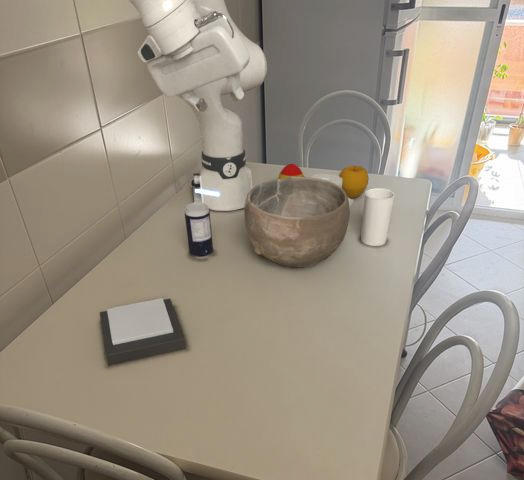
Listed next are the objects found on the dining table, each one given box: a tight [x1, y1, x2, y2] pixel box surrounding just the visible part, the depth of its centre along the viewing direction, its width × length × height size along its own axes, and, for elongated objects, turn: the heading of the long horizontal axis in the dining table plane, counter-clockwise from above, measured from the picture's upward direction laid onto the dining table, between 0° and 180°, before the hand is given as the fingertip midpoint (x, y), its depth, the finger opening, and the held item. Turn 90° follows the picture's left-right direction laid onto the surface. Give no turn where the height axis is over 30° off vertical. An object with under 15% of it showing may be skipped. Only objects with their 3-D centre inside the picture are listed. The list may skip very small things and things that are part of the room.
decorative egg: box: [277, 163, 305, 179], centre depth 139 cm, size 8×8×10 cm
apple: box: [338, 165, 370, 199], centre depth 140 cm, size 9×8×9 cm
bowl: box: [243, 176, 351, 268], centre depth 112 cm, size 24×24×15 cm
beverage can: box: [184, 202, 214, 259], centre depth 114 cm, size 6×6×12 cm
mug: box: [360, 187, 396, 247], centre depth 119 cm, size 10×7×12 cm, turn 157°
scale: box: [99, 297, 187, 367], centre depth 93 cm, size 14×14×3 cm
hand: (221, 104), depth 91 cm, fingers open, 8 cm apart
